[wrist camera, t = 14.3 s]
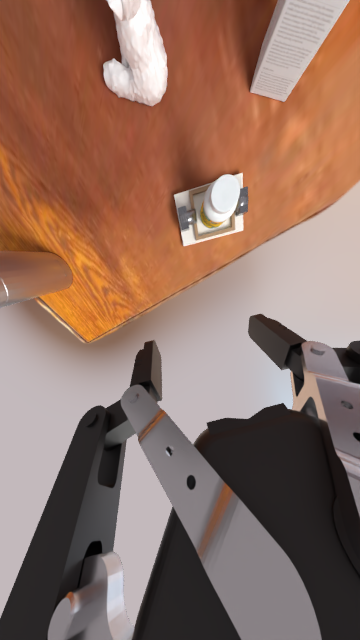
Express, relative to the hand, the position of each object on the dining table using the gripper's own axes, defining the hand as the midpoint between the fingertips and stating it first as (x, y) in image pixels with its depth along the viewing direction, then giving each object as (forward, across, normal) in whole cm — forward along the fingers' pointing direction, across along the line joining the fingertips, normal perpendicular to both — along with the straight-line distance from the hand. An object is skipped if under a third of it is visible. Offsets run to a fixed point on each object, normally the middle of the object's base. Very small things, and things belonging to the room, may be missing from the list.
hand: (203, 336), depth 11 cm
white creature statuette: (+29, -2, -29) cm, 41 cm away
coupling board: (+26, -10, -10) cm, 29 cm away
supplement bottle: (+25, -10, -10) cm, 29 cm away
